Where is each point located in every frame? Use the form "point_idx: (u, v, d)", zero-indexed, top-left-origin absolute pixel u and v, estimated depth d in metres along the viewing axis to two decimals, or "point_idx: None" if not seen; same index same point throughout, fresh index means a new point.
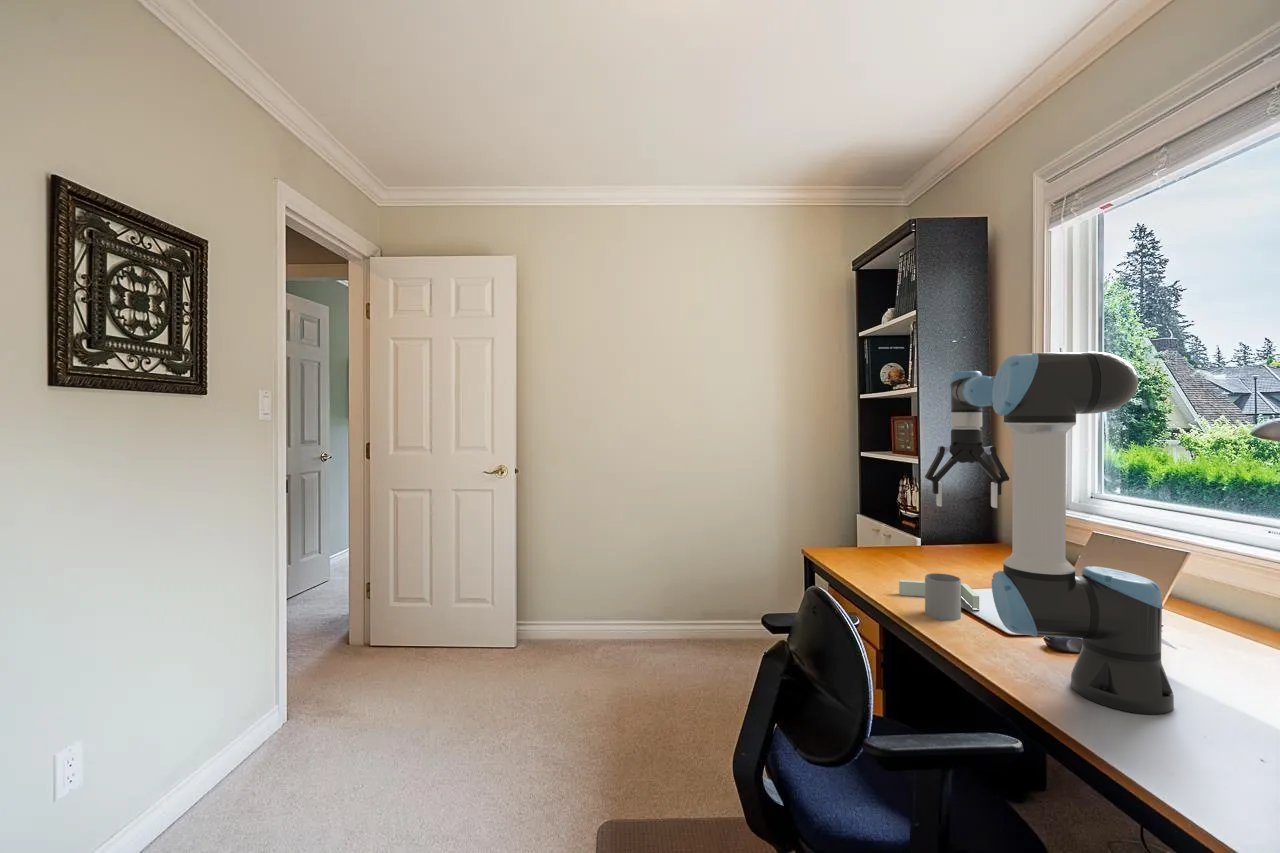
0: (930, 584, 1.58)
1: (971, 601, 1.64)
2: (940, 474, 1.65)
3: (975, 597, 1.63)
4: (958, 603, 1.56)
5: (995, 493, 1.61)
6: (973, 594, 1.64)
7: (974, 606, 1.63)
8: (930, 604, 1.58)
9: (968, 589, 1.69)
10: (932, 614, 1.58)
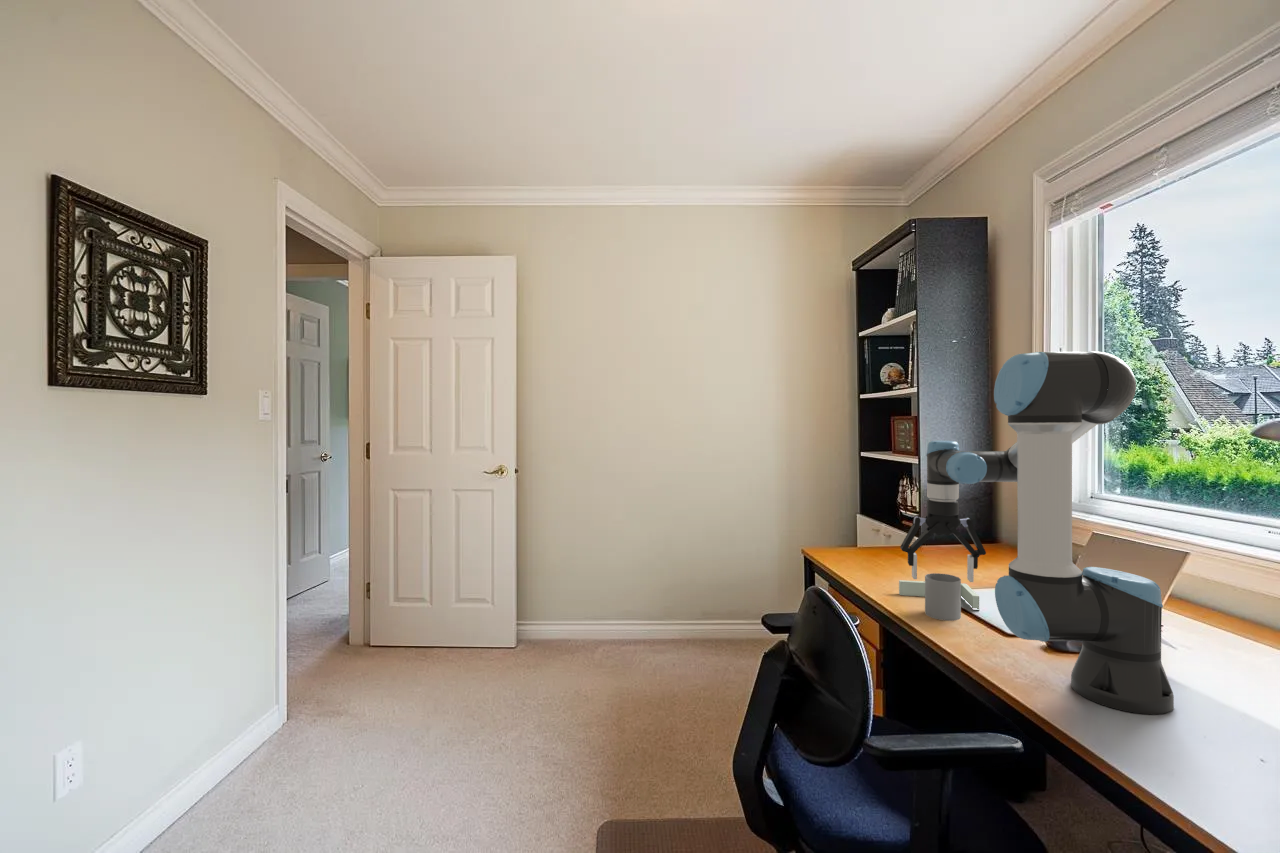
0: (930, 584, 1.58)
1: (971, 601, 1.64)
2: (915, 546, 1.60)
3: (975, 597, 1.63)
4: (958, 603, 1.56)
5: (971, 567, 1.57)
6: (973, 594, 1.64)
7: (974, 606, 1.63)
8: (930, 604, 1.58)
9: (968, 589, 1.69)
10: (932, 614, 1.58)
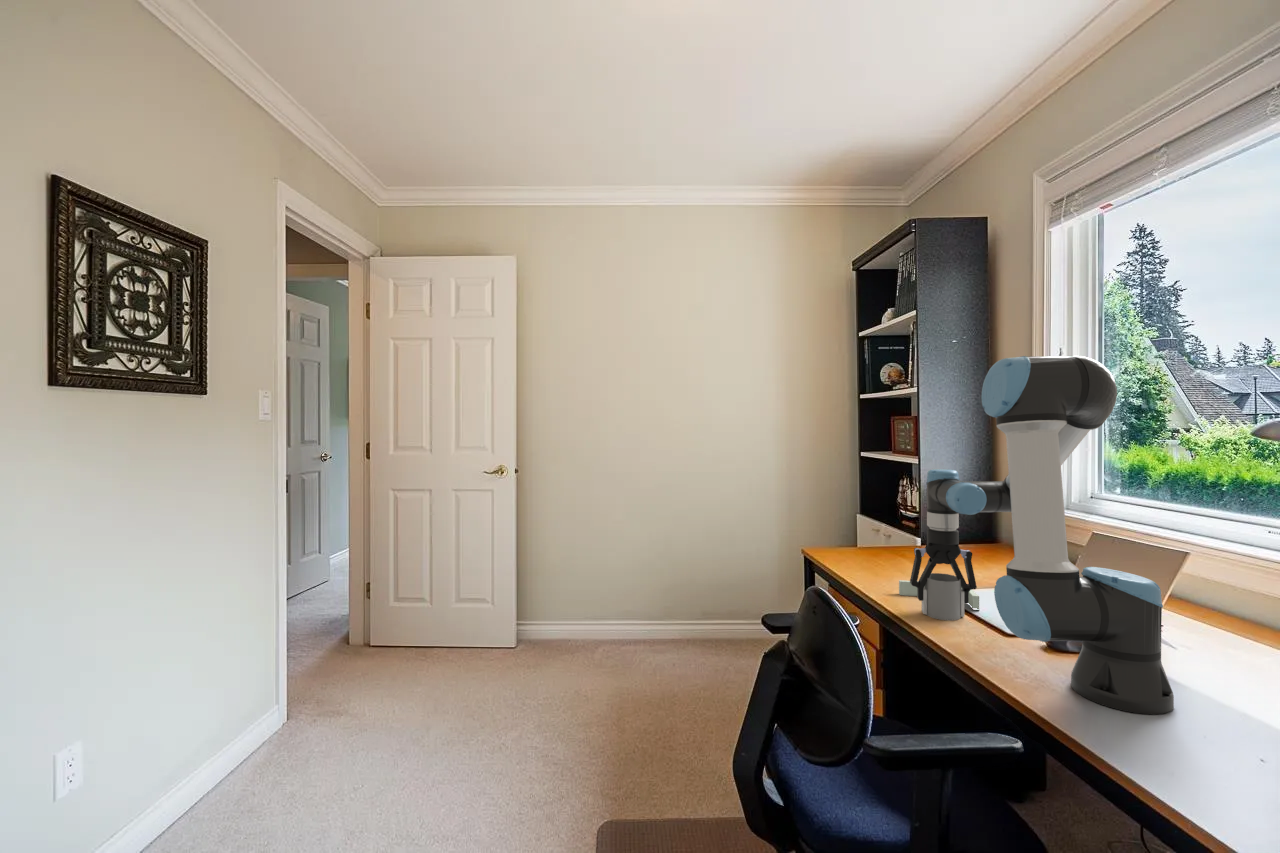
0: (930, 584, 1.58)
1: (971, 601, 1.64)
2: (923, 580, 1.60)
3: (975, 597, 1.63)
4: (958, 603, 1.56)
5: (962, 601, 1.57)
6: (973, 594, 1.64)
7: (974, 606, 1.63)
8: (930, 604, 1.58)
9: None
10: (932, 614, 1.58)
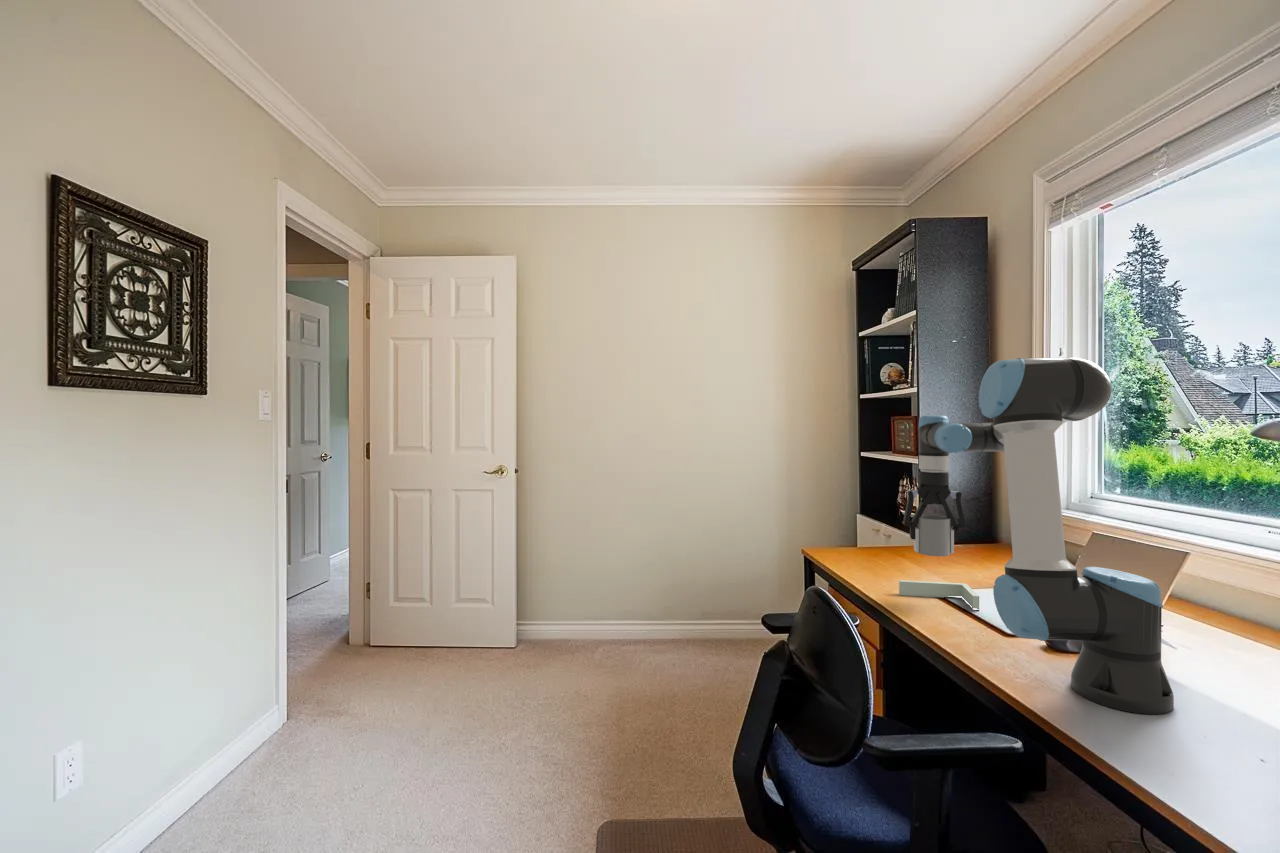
0: (921, 523, 1.68)
1: (971, 601, 1.64)
2: (915, 519, 1.69)
3: (975, 597, 1.63)
4: (948, 540, 1.66)
5: (952, 539, 1.67)
6: (973, 594, 1.64)
7: (974, 606, 1.63)
8: (922, 542, 1.68)
9: (968, 589, 1.69)
10: (923, 551, 1.67)
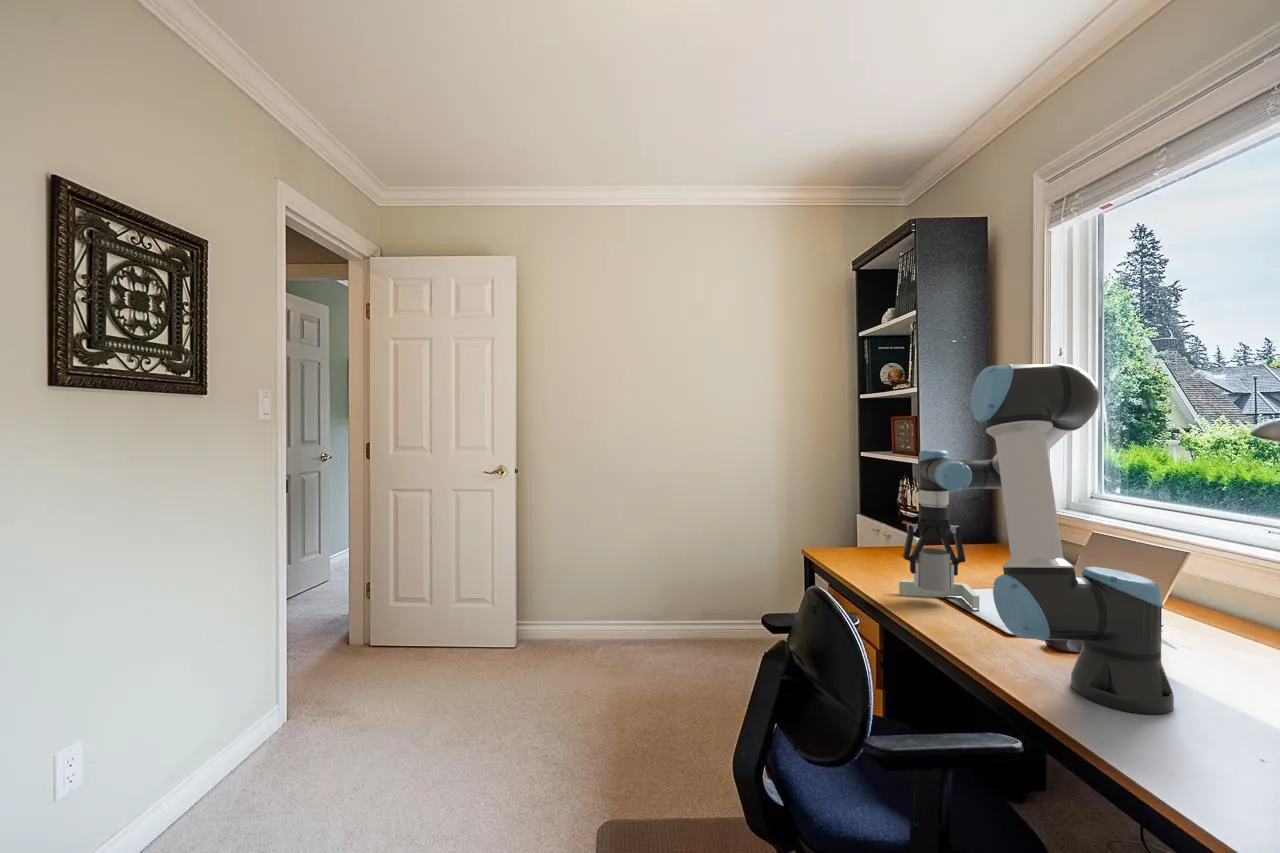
0: (921, 558, 1.68)
1: (971, 601, 1.64)
2: (915, 554, 1.69)
3: (975, 597, 1.63)
4: (948, 575, 1.66)
5: (952, 574, 1.67)
6: (973, 594, 1.64)
7: (974, 606, 1.63)
8: (922, 576, 1.68)
9: (968, 589, 1.69)
10: (923, 585, 1.67)
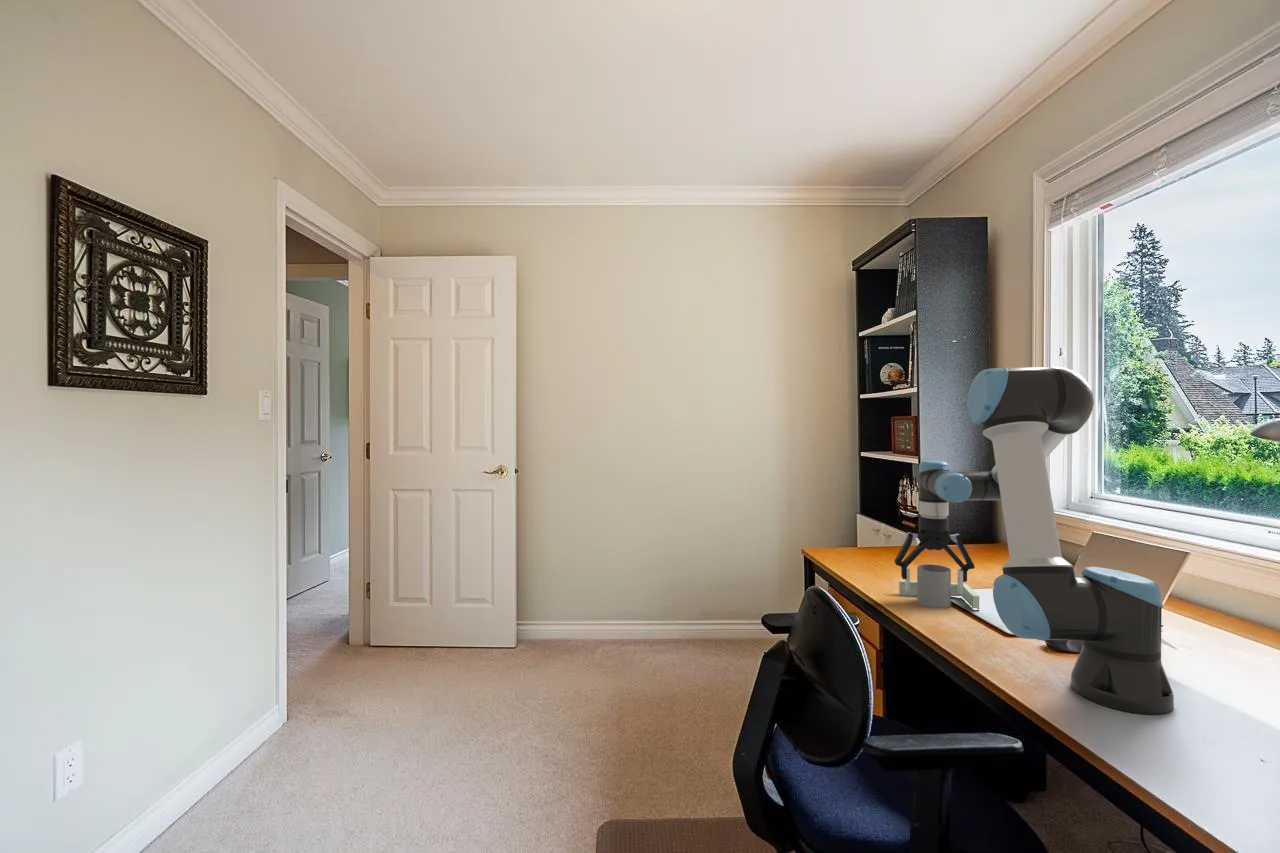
0: (921, 574, 1.68)
1: (971, 601, 1.64)
2: (908, 560, 1.70)
3: (975, 597, 1.63)
4: (948, 592, 1.66)
5: (961, 580, 1.66)
6: (973, 594, 1.64)
7: (974, 606, 1.63)
8: (922, 593, 1.68)
9: (968, 589, 1.69)
10: (924, 602, 1.67)
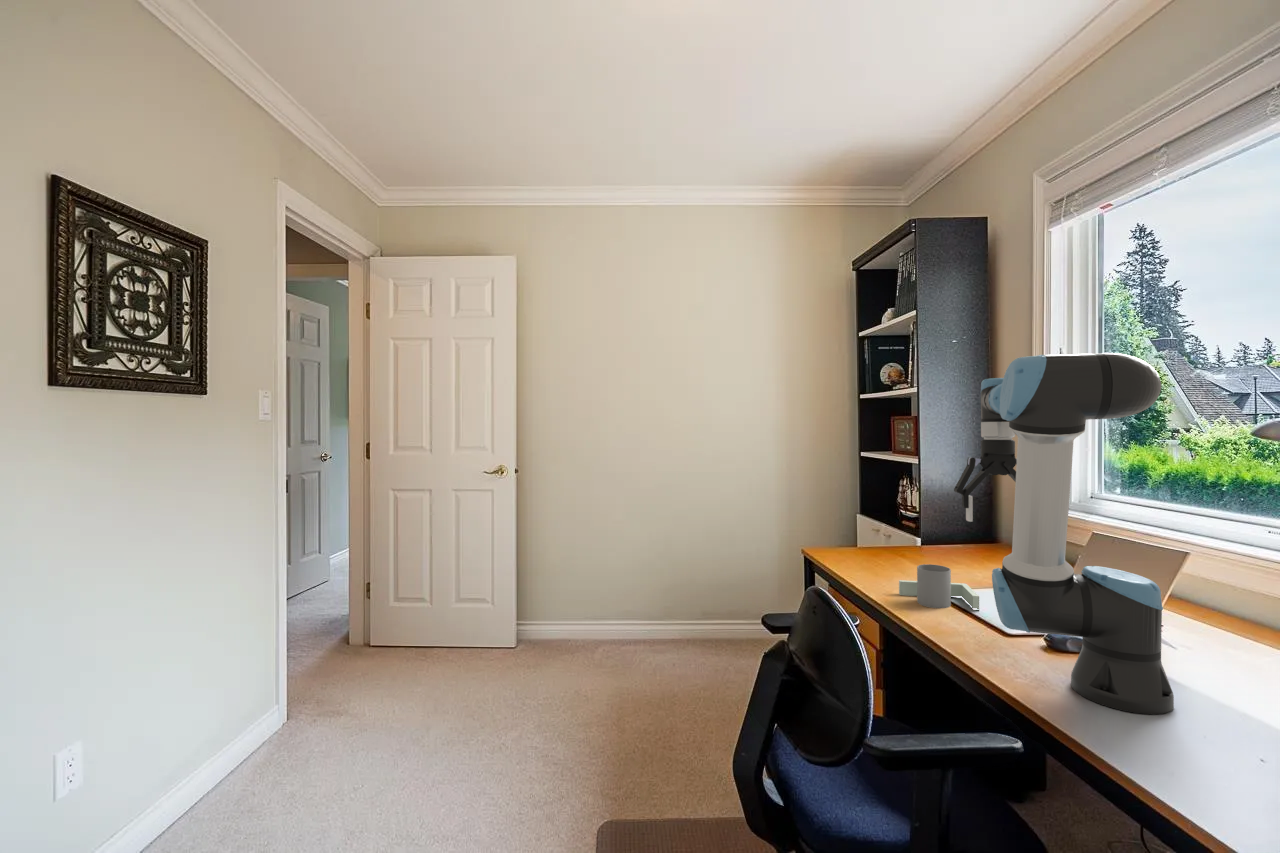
0: (921, 574, 1.68)
1: (971, 601, 1.64)
2: (971, 487, 1.55)
3: (975, 597, 1.63)
4: (948, 592, 1.66)
5: None
6: (973, 594, 1.64)
7: (974, 606, 1.63)
8: (922, 593, 1.68)
9: (968, 589, 1.69)
10: (924, 602, 1.67)
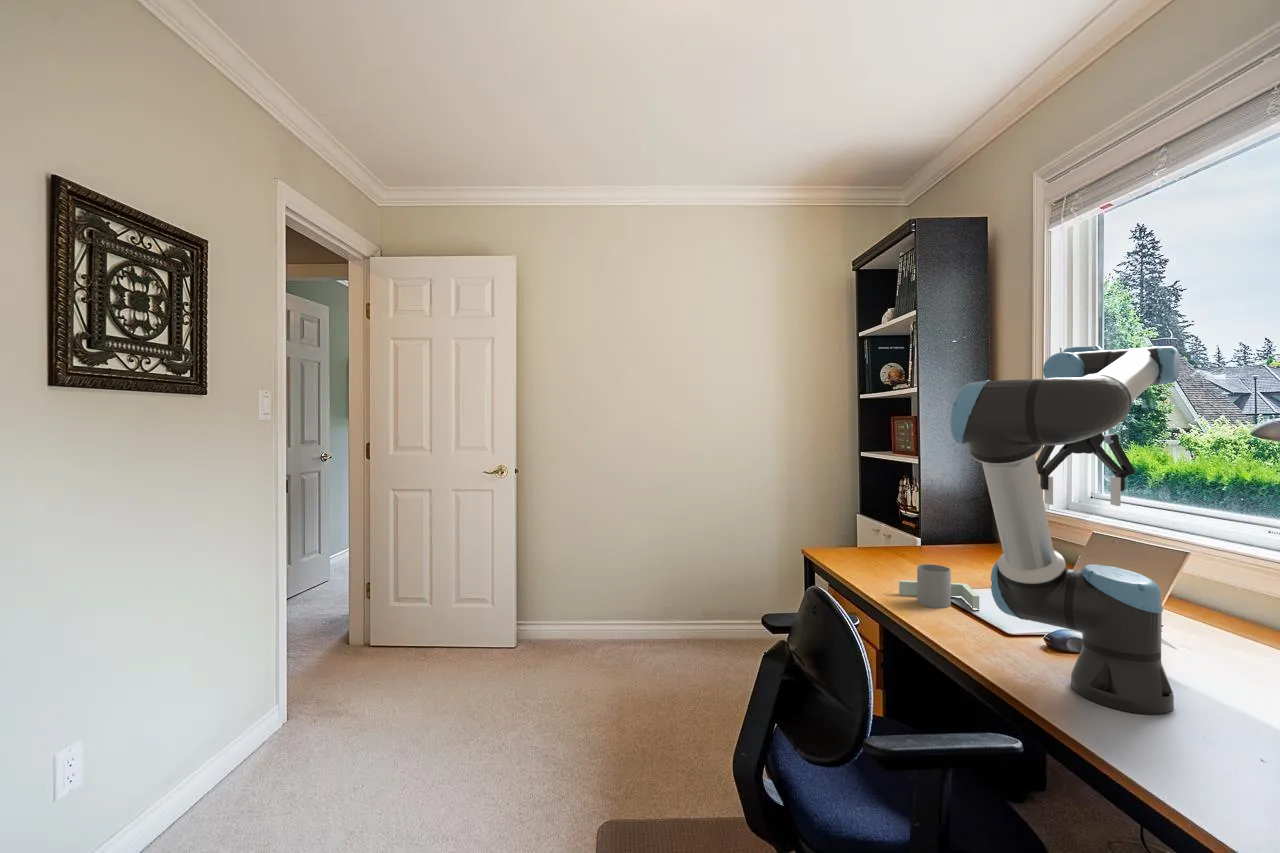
0: (921, 574, 1.68)
1: (971, 601, 1.64)
2: (1051, 467, 1.41)
3: (975, 597, 1.63)
4: (948, 592, 1.66)
5: (1118, 489, 1.38)
6: (973, 594, 1.64)
7: (974, 606, 1.63)
8: (922, 593, 1.68)
9: (968, 589, 1.69)
10: (924, 602, 1.67)
